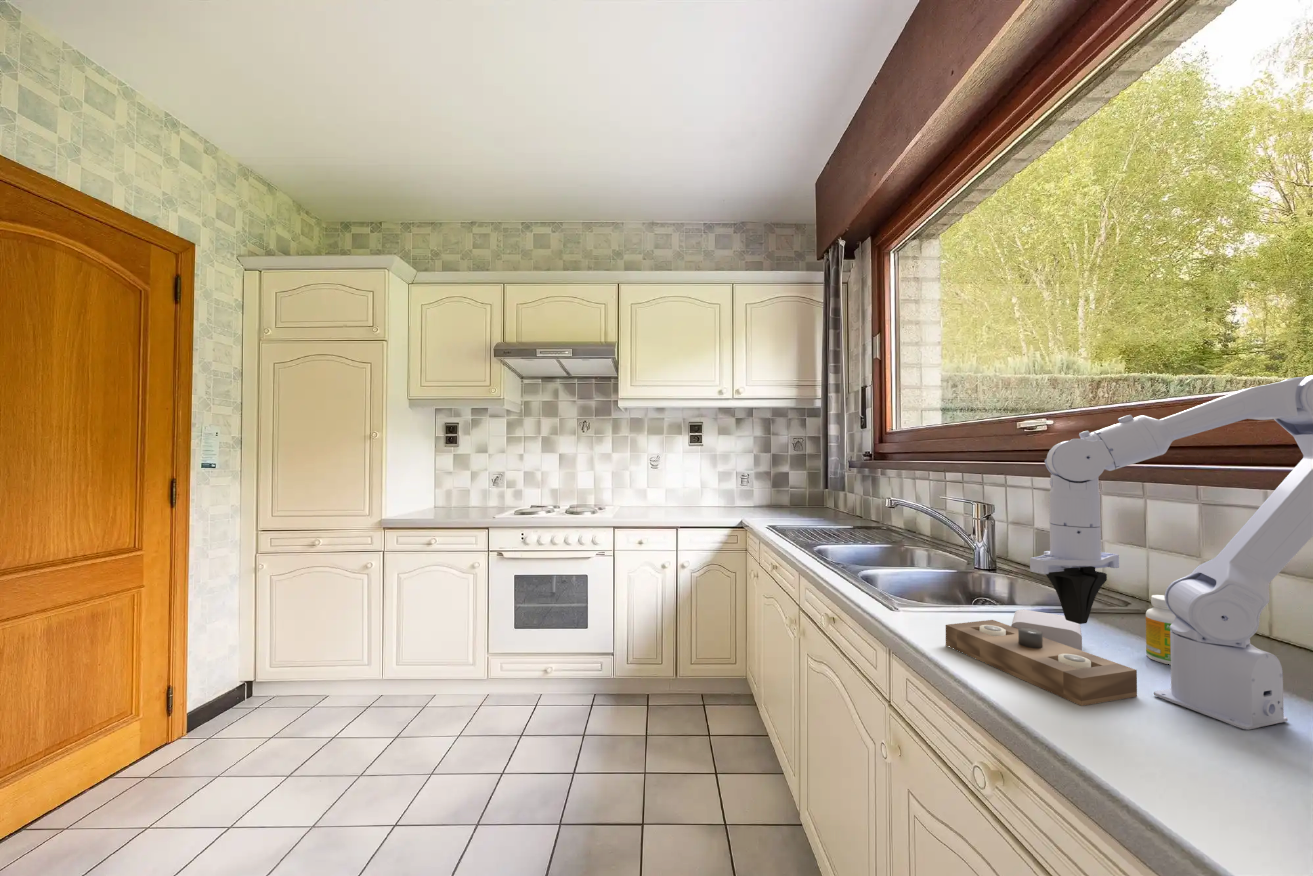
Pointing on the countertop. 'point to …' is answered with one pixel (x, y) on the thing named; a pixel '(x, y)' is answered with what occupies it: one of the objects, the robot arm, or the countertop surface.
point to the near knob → (1074, 661)
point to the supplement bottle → (1159, 630)
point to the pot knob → (1030, 638)
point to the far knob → (992, 630)
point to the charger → (1050, 627)
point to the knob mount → (1045, 664)
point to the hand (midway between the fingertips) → (1076, 621)
